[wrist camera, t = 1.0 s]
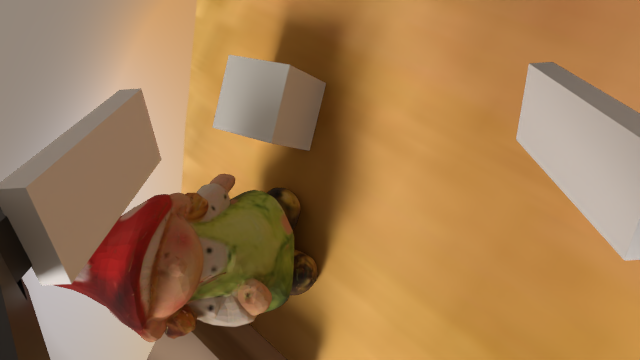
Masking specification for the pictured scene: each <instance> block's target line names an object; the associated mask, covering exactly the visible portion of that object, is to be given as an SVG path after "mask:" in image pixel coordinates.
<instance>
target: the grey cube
mask: <svg viewBox="0 0 640 360" xmlns="http://www.w3.org/2000/svg"><path fill="white" fill-rule="evenodd" d="M325 86H326V83H325V82H323V81H321V80H319V79H317V78H315V77H313V76H311V75H309V74H307V73H305V72H303V71H301V70H299V69H297V68H295V67H293V66H291V65H289V64H283V63H276V62H270V61H264V60H258V59H252V58H246V57H240V56H233V55H229V57H228V61H227V66H226V70H225V75H224V79H223V83H222V88H221V92H220V97H219V101H218V106H217V110H216V114H215V119H214V123H213V128H216V129H220V130H224V131H227V132H231V133H235V134H238V135H242V136H246V137H249V138H253V139H257V140H260V141H264V142H268V143H272V144H277V145H282V146H287V147H292V148H297V149H302V150H307V151H310V147H311V143H312V139H313V135H314V131H315V127H316V123H317V118H318V114H319V110H320V106H321V102H322V98H323V94H324V90H325Z"/></svg>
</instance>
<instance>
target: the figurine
mask: <svg viewBox="0 0 640 360" xmlns="http://www.w3.org/2000/svg"><path fill="white" fill-rule="evenodd" d="M234 184H235V178H234V176H232V175H228V174H220V175H218V176H217V177H216V178H214V179H213V180H212V181H211V182H210V184H208V185H204V186H202V187H201V188H200V189H199V190H198V191H197V193H187V194H185V195H184V194H182V193H174V194H171V195H166V194H163V195H156V196H154V197H152V198H150V199H148V200H147V201H145V202H143V203H142V204H140V205H138V206H137V207H134V208H133V209H132V210H130V211H128V212H127V213H126V214H124V215H122V216H121V217H120V218H119V219H118V220H117V222H116V223H115V224H114V226H113V227H112V229H111V230H110V231H109V233H108V234H107V236H106V237H105V238H104V240H103V241H102V242H101V244H100V245H99V247H98V248H97V249H96V251H95V252H94V254H93V255H92V256H91V258H90V259H89V260H88V262H87V263H86V265H85V266H84V267H83V269H82V270H81V272H80V273H79V274H78V276H77V277H76V279H75V280H74V281H73V283H72V284H60V285H55V286H59V287H64V288H68V289H72V290H74V291H77V292H79V293H82V294H84V295H87V296H88V297H90V298H92V299H93V300H95V301H97V302H99V303H100V304H102V305H104V306H106V307H107V308H108V309H109V310H110V312H111V313H112V314H113V315H114V316H115V317H116V318H117V319H118V320H120V321H121V322H122V323H124V324H125V325H127V326H128V327H130V328H131V329H132V330H134V331H135V332H137V333H138V334H139V335H140V336H141V337H142V338H143V339H144V340H146V341H148V342H154V341H156V340H158V339H160V338H161V337H162V335H163V334H164V332H165V334H166V335H167V337H169V338H172V339H175V338H177V337H180V336H185V335H186V334H188V333H189V332H191V331H193V330H195V328H196V326H197V319H198V320H201V321H203V322H205V323H208V324H212V325H218V326H232V327H237V326H240V325H244V324H247V323H250V322H252V321H254V320H255V318H256V317H257V315H258V314H260V313H263V312H267V311H271V310H274V309H276V308H278V307H280V306H281V305H283V304H284V303H285V302H286V301H287V299H288V298H289V295H299V294H302V293H304V292H306V291H307V290H308V289H309V288H310V287H311V286H312V285H313V284H314V283H315V281H316V279H317V266H316V263H315V261H314V259H312V258H311V257H309V256H308V255H306V254H305V253H303V252H300V251H298V250H296V249H294V235H293V231H292V230H293V229H294V228H295V226H296V224H297V221H298V218H299V214H300V204H299V201H298V199H297V197H296V196H295V194H294V193H292V192H291V191H290V190H288V189H285V188H274V189H272V190H270V191H269V192H267V193H265V192H263V191H257V190H252V191H247V192H244V193H242V194H240V195H238V196H236V197H234V198H233V199H231V200H230V198H229V196H228V192H229V191H230V190H231V188H232V187H233V186H234Z"/></svg>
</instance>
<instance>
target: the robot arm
mask: <svg viewBox="0 0 640 360" xmlns="http://www.w3.org/2000/svg"><path fill="white" fill-rule="evenodd" d="M516 140H517V141H518V142H519V143H520V144H521V145H522V147H523V148H524V149H525V150H526V151H527V152H528V153H529V154H530V156H531V157H532V158H533V159H534V160H535V161H536V162H537V163H538V164H539V166H540V167H541V168H542V169H543V170H544V171H545V172H546V173H547V175H548V176H549V177H550V178H551V179H552V180H553V181H554V182H555V183H556V185H557V186H558V187H559V188H560V189H561V190H562V191H563V192H564V194H565V195H566V196H567V197H568V198H569V199H570V200H571V201H572V202H573V204H574V205H575V206H576V207H577V208H578V209H579V210H580V211H581V213H582V214H583V215H584V216H585V217H586V218H587V219H588V220H589V221H590V223H591V224H592V225H593V226H594V227H595V228H596V229H597V230H598V232H599V233H600V234H601V235H602V236H603V237H604V238H605V239H606V240H607V242H608V243H609V244H610V245H611V246H612V247H613V248H614V249H615V251H616V252H617V253H618V254H619V255H620V256H621V257H622V258H623V259H624V260H640V113H638V112H636V111H635V110H633V109H631V108H629V107H628V106H626V105H624V104H623V103H621V102H619V101H618V100H616V99H614V98H613V97H611V96H609V95H608V94H606V93H604V92H602V91H601V90H599V89H597V88H596V87H594V86H592V85H591V84H589V83H587V82H586V81H584V80H582V79H580V78H579V77H577V76H575V75H574V74H572V73H570V72H569V71H567V70H565V69H564V68H562V67H560V66H559V65H557V64H555V63H553V62H546V63H530V64H529V67H528V73H527V78H526V84H525V90H524V96H523V102H522V108H521V114H520V120H519V126H518V131H517V137H516ZM160 161H161V157H160V153H159V150H158V146H157V143H156V139H155V136H154V132H153V128H152V125H151V121H150V118H149V114H148V111H147V107H146V104H145V100H144V97H143V93H142V90H141V89H129V90H119V91H118V92H116V93H115V94H114V95H113V96H111V97H110V98H109V99H108V100H106V101H105V102H104V103H102V104H101V105H100V106H98V107H97V108H96V109H94V110H93V111H92V112H91V113H90V114H88V115H87V116H86V117H84V118H83V119H82V120H80V121H79V122H78V123H77V124H75V125H74V126H73V127H71V128H70V129H69V130H67V131H66V132H65V133H64V134H62V135H61V136H60V137H58V138H57V139H56V140H55V141H53V142H52V143H51V144H49V145H48V146H47V147H45V148H44V149H43V150H42V151H40V152H39V153H38V154H36V155H35V156H34V157H33V158H31V159H30V160H29V161H27V162H26V163H25V164H24V165H23V166H21V167H20V168H18V169H17V170H16V171H14V172H13V173H12V174H11V175H9V176H8V177H7V178H5V179H4V180H3V181H2V182H0V360H50V357H49V354H48V351H47V348H46V345H45V342H44V339H43V335H42V332H41V329H40V326H39V323H38V320H37V317H36V314H35V310H34V307H33V304H32V301H31V298H30V295H29V292H28V289H27V287H26V285H25V284H24V282H23V280H22V277H23V275H24V274H25V273H26V272H27V271H28V270H29V269H30V267H32V268H33V270H34V272H35V274H36V276H37V278H38V280H39V282H40V284H41V285H60V284H72V283H73V281H74V280H75V279H76V277H77V276H78V274H79V273H80V272H81V270H82V269H83V267H84V266H85V265H86V263H87V262H88V260H89V259H90V258H91V256H92V255H93V254H94V252H95V251H96V249H97V248H98V247H99V245H100V244H101V242H102V241H103V240H104V238H105V237H106V236H107V234H108V233H109V231H110V230H111V229H112V227H113V226H114V224H115V223H116V222H117V220H118V219H119V218H120V216H121V215H122V213H123V212H124V211H125V209H126V208H127V206H128V205H129V204H130V202H131V201H132V199H133V198H134V197H135V195H136V194H137V192H138V191H139V190H140V188H141V187H142V186H143V184H144V183H145V181H146V180H147V179H148V177H149V176H150V174H151V173H152V172H153V170H154V169H155V168H156V166H157V165H158V163H159V162H160Z"/></svg>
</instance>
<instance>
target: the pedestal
mask: <svg viewBox="0 0 640 360" xmlns="http://www.w3.org/2000/svg"><path fill="white" fill-rule="evenodd" d="M147 360H287V359H286V358H285V357H284V356H282V355H281V354H280V353H279V352H278V351H277V350H276V349H275V348H274V347H273V346H272V345H271V344H269V343H268V342H267V341H266V340H265V339H264V338H263V337H262V336H261V335H260V334H259V333H258V332H256V331H255V330H254V329H253V328H252V327H251V326H250V325H249V324H248V323H247V324H244V325H240V326H237V327H232V326H218V325H212V324H208V323H205V322H203V321H201V320H198V319H197V326H196V328H195V330H193V331H191V332H189V333H188V334H186V335H185V336H180V337H177V338H175V339H172V338H169V337H167V335H166V334H165V332H164V334H163V335H162V337H161V338H160V339H158V340H156V342H155V344H154V346H153V348H152V350H151V352H150V354H149V356H148V359H147Z"/></svg>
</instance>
